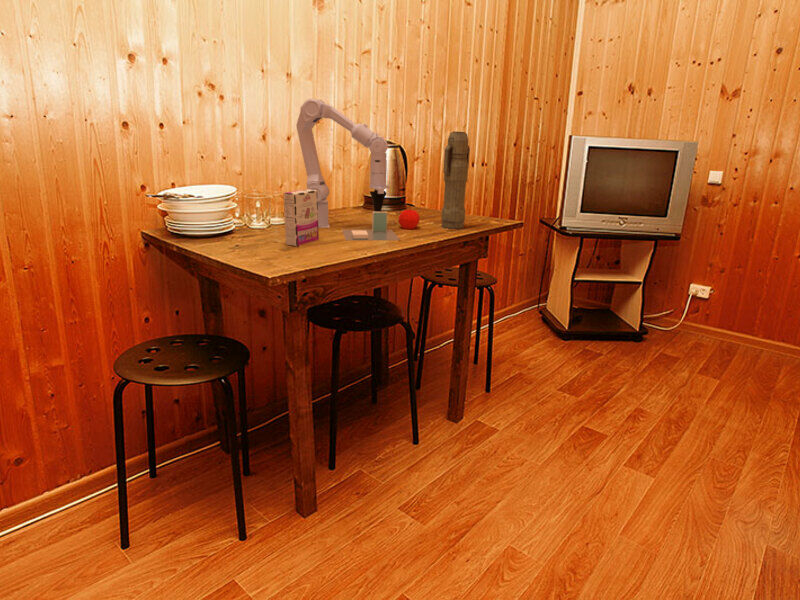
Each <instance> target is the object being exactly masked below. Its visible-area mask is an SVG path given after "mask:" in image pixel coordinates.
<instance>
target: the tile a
mask: <svg viewBox="0 0 800 600" xmlns="http://www.w3.org/2000/svg"><path fill="white" fill-rule="evenodd" d="M350 230H351V235H352V237H353V239H368V233H367V231H366V230H367V229H350Z"/></svg>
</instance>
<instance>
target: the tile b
mask: <svg viewBox="0 0 800 600" xmlns="http://www.w3.org/2000/svg"><path fill="white" fill-rule="evenodd" d="M371 216H372V219H371V220H372V221H371V224H372V225H371V227H372V228H371V230H372V232H387V230H388V211H381V212H375V211H372V215H371Z"/></svg>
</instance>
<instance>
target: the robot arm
mask: <svg viewBox="0 0 800 600" xmlns="http://www.w3.org/2000/svg"><path fill="white" fill-rule="evenodd" d="M322 119H330V120H332V121H334V122H335V123H337V124H339V125H340V126H341V127H342V128H344V129H346V130H347V131H349V132H350V134H351V138H352V139H354V140H355V141H356V142H358V143H359V144H360V145H361V146H363V147H365V148H366V149H369V151H370V168H369V169H370V172H369V173H370V174H369V189H372V191H369V194H370V196H371V199H372V206H373V210H374V212H382V209H383V204H384V200H385V198H386V196H387V194H388V193H387V192H386V189H390V185H387V171H388V170H387V165H388V164H387V162H388V160H387V151H388V148H389V145H388V142H387V140H386V139H385V138H384V137H383V136H379V135H380V134H379V133H378V132H375V131H372V130H371V129H370V127H369V126H368V124H366V123H364V124H363V123H362V122H361V123H355V122H354V121H352V120H351V119H350V118H349V117H347V116H346V115H345V114H343V113H342V112H341V111H339V110H338V109H337V108H335V107H334V106H332V105H330V104H329V103H326V102H325V101H323V100H322V99H316V98H308V99H307V100H305V101H304V102H303V103H302V105H301V106H300V112H299V115H298V118H297V122H296V130H297V131H296V132H297V136H298V139H299V145H300V149H301V153H302V159H303V163H304V169H305V172H306V175H307V178H306V187H307V188H306V189H309V190H317V200H318V228H330V223H329V200H328V199H327V198H328V197H329V194H330V188H329V186H328V185H327V184H326V181H325V178H324V176H323V174H322V171H321V165H320V161H319V155H318V150H317V147H316V142H315V137H314V133H313V128H314V127H315V126H316V125H317V123H318V121H320V120H322ZM368 127H369V128H368ZM373 190H374V191H373Z"/></svg>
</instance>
